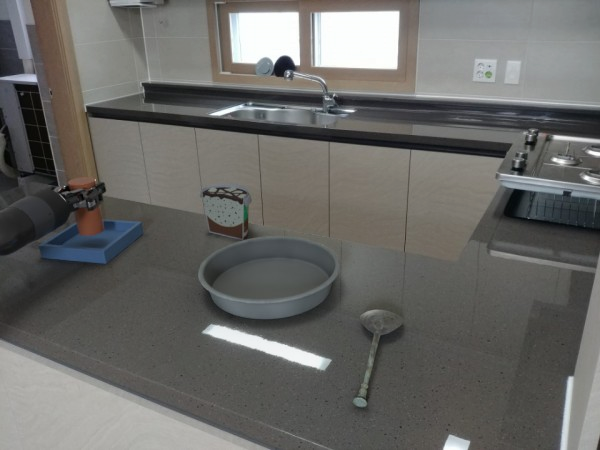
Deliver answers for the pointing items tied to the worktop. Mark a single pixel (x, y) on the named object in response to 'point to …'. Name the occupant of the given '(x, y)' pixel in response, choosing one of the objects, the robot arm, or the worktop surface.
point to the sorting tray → (92, 242)
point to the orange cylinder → (87, 219)
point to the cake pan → (269, 276)
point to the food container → (227, 209)
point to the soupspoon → (375, 342)
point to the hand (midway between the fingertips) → (91, 186)
